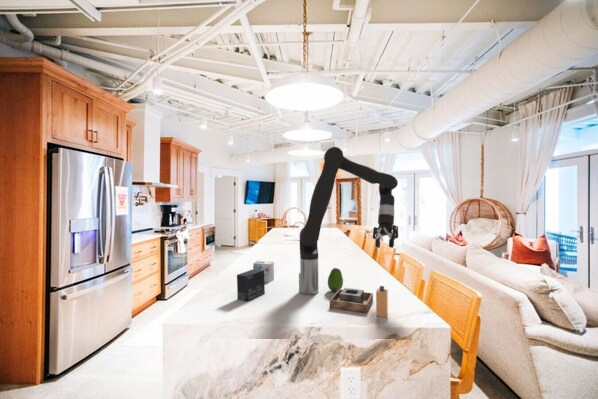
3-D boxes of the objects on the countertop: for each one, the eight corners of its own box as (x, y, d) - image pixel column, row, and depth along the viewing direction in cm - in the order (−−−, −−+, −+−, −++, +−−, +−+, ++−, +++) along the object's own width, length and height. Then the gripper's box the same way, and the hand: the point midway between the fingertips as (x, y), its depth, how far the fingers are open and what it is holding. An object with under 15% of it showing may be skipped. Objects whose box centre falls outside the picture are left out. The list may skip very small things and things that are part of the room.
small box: (254, 291, 151) (254, 268, 151) (265, 293, 147) (264, 270, 147) (236, 299, 140) (236, 274, 139) (247, 302, 136) (247, 276, 136)
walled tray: (329, 307, 128) (329, 295, 128) (339, 296, 142) (339, 284, 142) (366, 313, 122) (366, 299, 121) (372, 300, 136) (372, 288, 136)
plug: (376, 315, 119) (376, 287, 119) (377, 312, 123) (377, 284, 123) (386, 317, 117) (386, 288, 117) (387, 313, 121) (387, 285, 121)
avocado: (342, 294, 146) (342, 270, 146) (327, 293, 147) (326, 269, 147) (343, 289, 154) (343, 266, 154) (328, 288, 155) (328, 265, 155)
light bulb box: (252, 281, 169) (252, 262, 169) (257, 278, 175) (257, 260, 175) (270, 282, 166) (269, 263, 166) (274, 279, 172) (274, 261, 172)
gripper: (370, 215, 150) (368, 246, 146) (392, 211, 138) (390, 245, 134) (381, 218, 154) (378, 249, 150) (402, 215, 142) (401, 248, 138)
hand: (384, 247), depth 142 cm, fingers open, 8 cm apart
